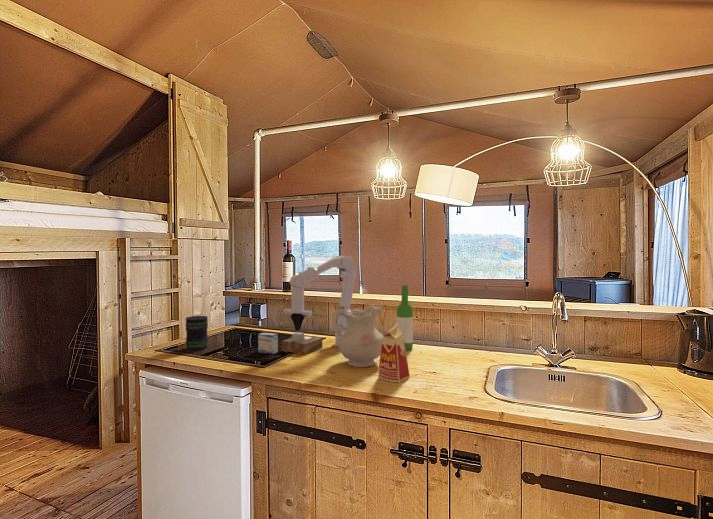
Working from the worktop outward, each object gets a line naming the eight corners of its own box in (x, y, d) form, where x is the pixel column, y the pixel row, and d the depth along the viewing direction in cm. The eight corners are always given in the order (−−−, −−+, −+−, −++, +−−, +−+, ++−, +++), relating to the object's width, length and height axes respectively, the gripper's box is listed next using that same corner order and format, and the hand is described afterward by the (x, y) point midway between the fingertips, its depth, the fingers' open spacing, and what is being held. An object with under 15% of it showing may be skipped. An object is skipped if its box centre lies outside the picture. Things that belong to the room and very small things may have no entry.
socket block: (322, 348, 194) (322, 337, 193) (305, 355, 181) (305, 344, 181) (300, 344, 200) (300, 334, 199) (282, 351, 187) (282, 340, 187)
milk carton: (390, 372, 157) (390, 321, 156) (410, 377, 151) (411, 324, 150) (376, 378, 150) (376, 325, 149) (397, 384, 144) (397, 328, 143)
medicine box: (258, 352, 185) (257, 334, 185) (263, 350, 189) (262, 332, 189) (273, 354, 183) (273, 335, 182) (278, 351, 187) (278, 333, 187)
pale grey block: (304, 343, 188) (304, 332, 188) (298, 345, 184) (298, 334, 184) (297, 342, 190) (297, 332, 190) (291, 344, 186) (291, 333, 186)
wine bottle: (395, 346, 197) (396, 284, 196) (411, 346, 197) (412, 285, 196) (396, 350, 189) (397, 286, 188) (413, 350, 189) (413, 286, 188)
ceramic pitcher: (347, 376, 155) (351, 313, 152) (323, 360, 171) (325, 302, 169) (392, 367, 167) (395, 308, 164) (365, 353, 183) (368, 299, 181)
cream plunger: (312, 347, 194) (312, 337, 194) (308, 349, 191) (308, 339, 191) (306, 346, 196) (305, 336, 196) (301, 348, 193) (301, 338, 193)
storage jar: (185, 347, 195) (185, 316, 194) (207, 345, 199) (206, 315, 198) (186, 352, 186) (185, 320, 185) (209, 350, 190) (208, 318, 189)
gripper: (279, 300, 186) (279, 330, 187) (305, 303, 179) (305, 333, 180) (289, 299, 192) (289, 327, 193) (314, 301, 186) (314, 330, 186)
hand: (297, 330), depth 187 cm, fingers closed
